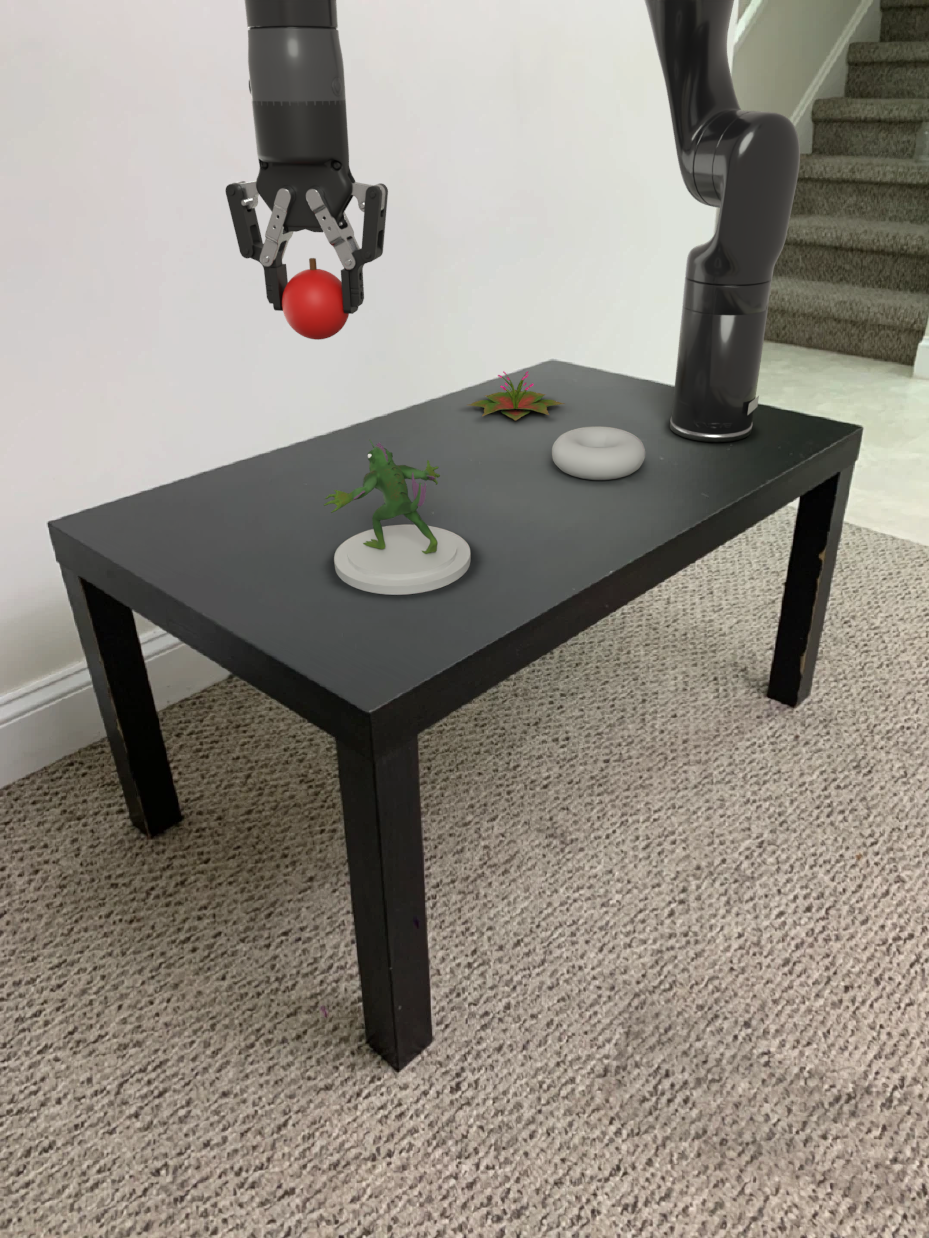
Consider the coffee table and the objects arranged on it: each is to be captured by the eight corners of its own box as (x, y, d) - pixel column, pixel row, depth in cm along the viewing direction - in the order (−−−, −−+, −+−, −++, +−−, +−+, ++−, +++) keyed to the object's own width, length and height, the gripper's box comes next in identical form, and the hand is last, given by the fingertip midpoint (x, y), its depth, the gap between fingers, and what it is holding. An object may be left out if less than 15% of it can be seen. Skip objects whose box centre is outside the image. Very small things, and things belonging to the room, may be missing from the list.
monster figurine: (423, 521, 90) (418, 418, 85) (497, 567, 82) (497, 456, 77) (311, 555, 85) (298, 447, 79) (378, 609, 76) (369, 491, 71)
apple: (299, 329, 88) (292, 251, 85) (360, 332, 87) (356, 253, 84) (275, 345, 83) (266, 263, 80) (339, 348, 82) (333, 265, 79)
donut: (545, 483, 98) (642, 487, 96) (546, 452, 97) (644, 455, 95) (557, 450, 107) (646, 453, 105) (557, 420, 105) (648, 423, 103)
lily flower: (515, 432, 112) (515, 394, 109) (448, 409, 119) (447, 374, 117) (582, 409, 119) (584, 373, 116) (515, 389, 126) (515, 355, 124)
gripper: (397, 95, 77) (404, 305, 86) (235, 95, 80) (257, 299, 89) (370, 97, 71) (380, 324, 80) (195, 97, 74) (223, 316, 82)
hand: (316, 309), depth 84 cm, fingers closed on apple, 6 cm apart
